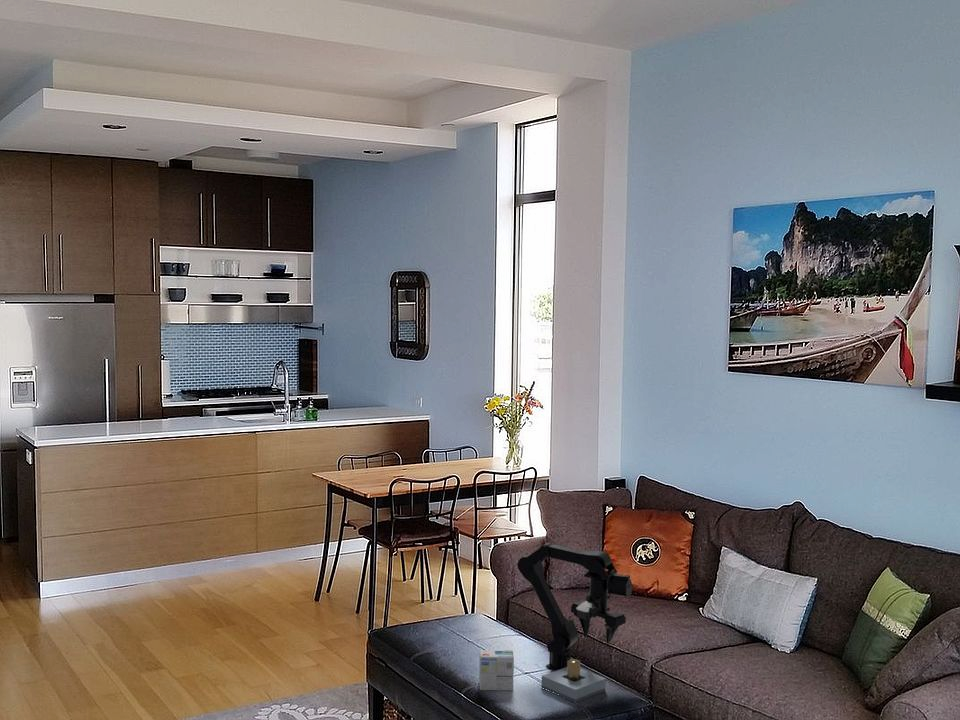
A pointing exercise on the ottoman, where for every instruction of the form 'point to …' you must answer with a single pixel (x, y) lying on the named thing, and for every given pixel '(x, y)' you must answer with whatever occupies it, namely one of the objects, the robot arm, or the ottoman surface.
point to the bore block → (573, 684)
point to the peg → (573, 670)
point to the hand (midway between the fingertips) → (596, 639)
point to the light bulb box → (496, 670)
